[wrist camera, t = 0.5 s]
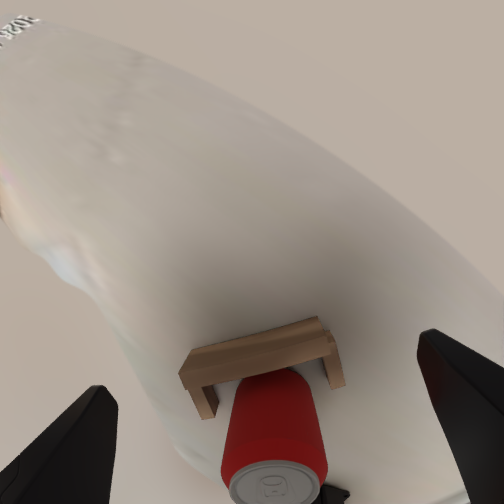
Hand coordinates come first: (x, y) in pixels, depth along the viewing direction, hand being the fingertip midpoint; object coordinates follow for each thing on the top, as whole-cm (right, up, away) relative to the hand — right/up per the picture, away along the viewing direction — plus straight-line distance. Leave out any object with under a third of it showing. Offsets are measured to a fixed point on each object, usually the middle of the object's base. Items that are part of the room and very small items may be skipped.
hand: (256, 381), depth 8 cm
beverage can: (+2, -9, +19) cm, 21 cm away
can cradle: (+1, -6, +18) cm, 19 cm away
